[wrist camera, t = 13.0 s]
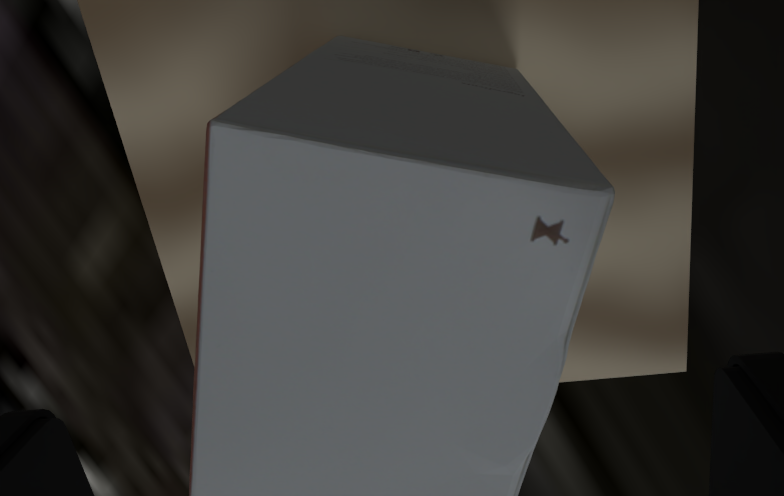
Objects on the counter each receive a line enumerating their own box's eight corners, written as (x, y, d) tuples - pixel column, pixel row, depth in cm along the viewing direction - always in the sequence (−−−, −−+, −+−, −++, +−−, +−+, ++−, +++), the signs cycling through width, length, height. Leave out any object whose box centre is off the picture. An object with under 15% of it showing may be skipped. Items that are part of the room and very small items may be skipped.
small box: (334, 31, 21) (199, 106, 9) (522, 66, 21) (634, 185, 9) (306, 251, 24) (180, 518, 12) (470, 280, 24) (501, 575, 12)
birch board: (673, 350, 27) (686, 371, 25) (220, 391, 29) (209, 412, 28) (686, -216, 19) (706, -231, 18) (69, -98, 21) (44, -103, 20)
